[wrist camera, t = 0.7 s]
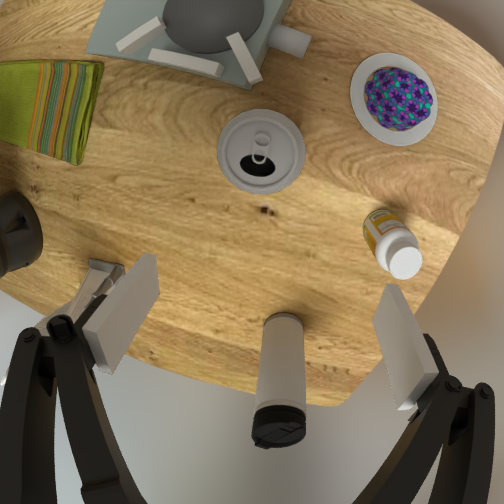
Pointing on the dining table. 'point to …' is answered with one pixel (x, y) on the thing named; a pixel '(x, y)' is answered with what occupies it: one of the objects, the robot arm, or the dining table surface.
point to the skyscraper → (85, 293)
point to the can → (261, 151)
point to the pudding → (394, 99)
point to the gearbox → (197, 35)
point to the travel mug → (280, 384)
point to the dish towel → (49, 105)
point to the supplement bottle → (392, 244)
